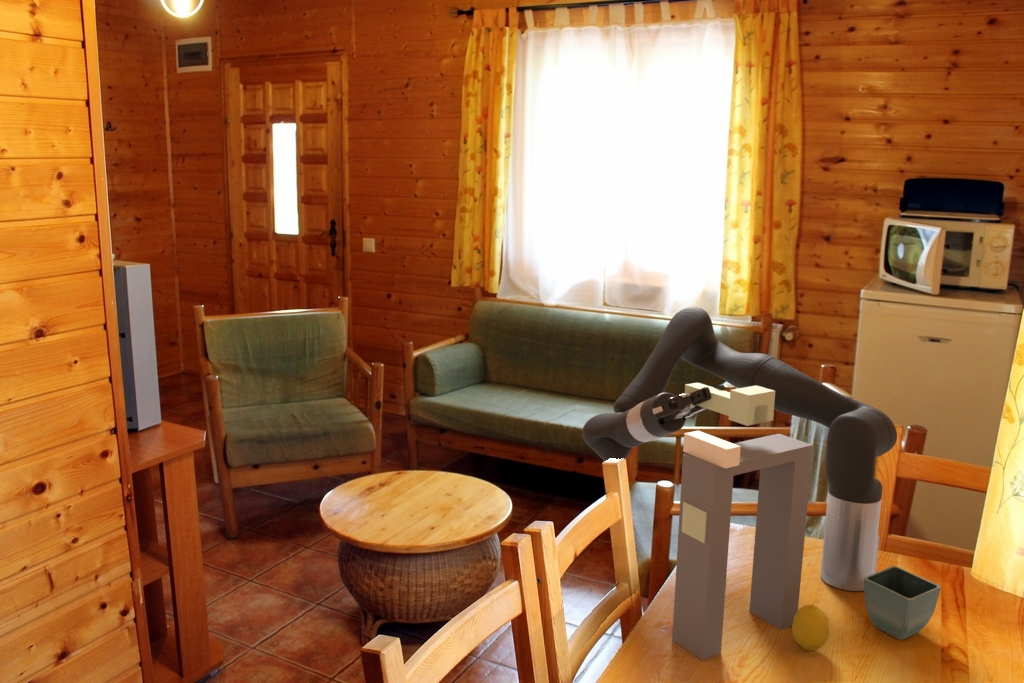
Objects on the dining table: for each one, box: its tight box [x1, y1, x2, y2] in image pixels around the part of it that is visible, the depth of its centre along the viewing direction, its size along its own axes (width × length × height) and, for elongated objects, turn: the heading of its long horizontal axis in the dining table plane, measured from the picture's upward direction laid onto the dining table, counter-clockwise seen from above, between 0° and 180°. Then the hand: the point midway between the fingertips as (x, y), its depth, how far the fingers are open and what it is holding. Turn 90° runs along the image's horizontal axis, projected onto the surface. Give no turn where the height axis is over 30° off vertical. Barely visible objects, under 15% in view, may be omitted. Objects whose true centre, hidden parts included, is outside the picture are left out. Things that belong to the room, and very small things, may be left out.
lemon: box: [791, 604, 830, 652], centre depth 135 cm, size 6×6×8 cm
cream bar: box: [682, 430, 741, 468], centre depth 130 cm, size 3×9×3 cm, turn 32°
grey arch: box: [671, 433, 814, 662], centre depth 138 cm, size 22×7×32 cm, turn 122°
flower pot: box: [863, 565, 942, 641], centre depth 141 cm, size 9×9×9 cm
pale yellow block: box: [684, 382, 775, 427], centre depth 142 cm, size 6×16×5 cm, turn 32°
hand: (715, 391), depth 143 cm, fingers closed on pale yellow block, 3 cm apart
